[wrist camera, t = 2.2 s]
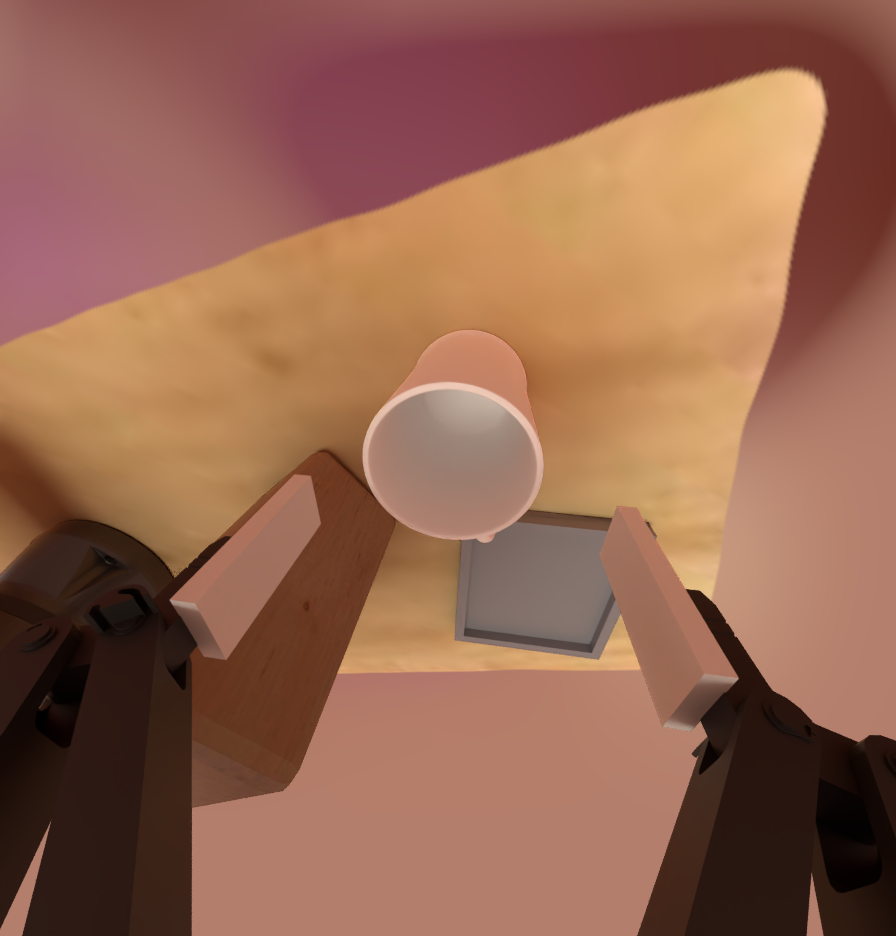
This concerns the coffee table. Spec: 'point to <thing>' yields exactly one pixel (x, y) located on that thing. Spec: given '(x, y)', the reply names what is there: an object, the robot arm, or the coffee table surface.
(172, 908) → the robot arm
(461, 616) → the tray
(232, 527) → the wooden block
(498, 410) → the mug
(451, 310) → the coffee table surface
